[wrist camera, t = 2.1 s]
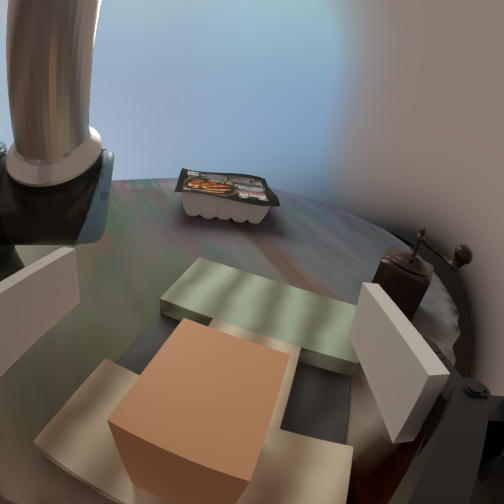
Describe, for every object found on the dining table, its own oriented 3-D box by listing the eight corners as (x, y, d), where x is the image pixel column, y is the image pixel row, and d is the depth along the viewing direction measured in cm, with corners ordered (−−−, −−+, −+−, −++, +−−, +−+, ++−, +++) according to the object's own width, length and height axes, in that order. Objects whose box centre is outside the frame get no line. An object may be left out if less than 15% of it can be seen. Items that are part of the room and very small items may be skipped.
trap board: (43, 454, 20) (32, 441, 19) (197, 271, 55) (199, 257, 54) (320, 567, 16) (333, 564, 14) (352, 320, 51) (358, 306, 49)
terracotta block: (132, 484, 19) (106, 419, 14) (179, 406, 28) (184, 317, 22) (223, 522, 18) (250, 481, 12) (256, 434, 27) (290, 354, 21)
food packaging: (174, 189, 69) (182, 165, 89) (171, 219, 73) (180, 189, 92) (280, 203, 74) (265, 177, 94) (273, 231, 78) (260, 200, 97)
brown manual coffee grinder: (359, 304, 56) (395, 215, 47) (374, 282, 64) (404, 205, 56) (430, 340, 49) (477, 254, 40) (436, 313, 57) (473, 237, 49)
